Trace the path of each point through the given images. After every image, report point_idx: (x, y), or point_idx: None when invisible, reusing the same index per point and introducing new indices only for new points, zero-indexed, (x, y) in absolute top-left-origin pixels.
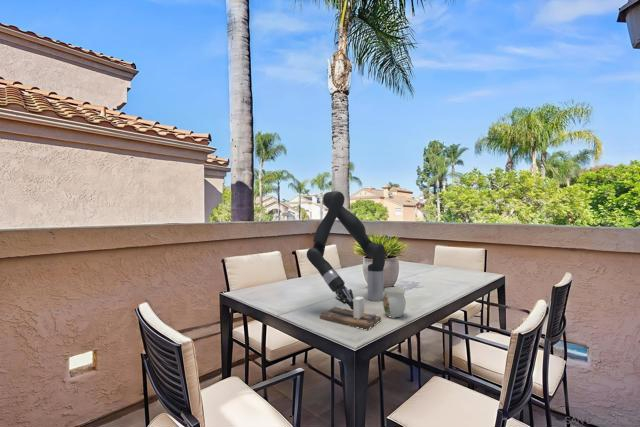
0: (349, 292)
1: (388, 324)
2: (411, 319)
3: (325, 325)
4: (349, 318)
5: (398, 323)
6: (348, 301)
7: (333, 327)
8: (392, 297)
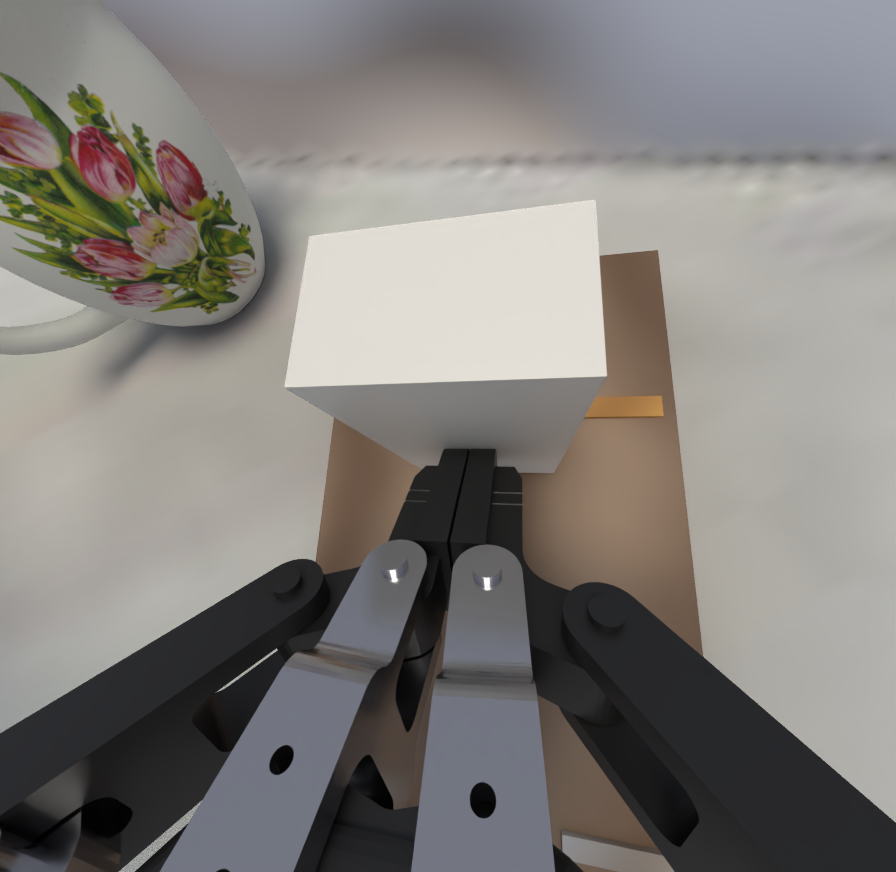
0: (46, 840)
1: None
2: (245, 167)
3: (884, 775)
4: (580, 520)
5: (354, 189)
6: (543, 594)
7: (850, 626)
8: (90, 30)
